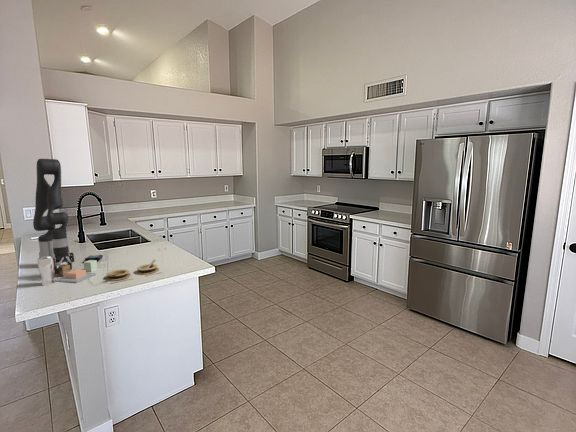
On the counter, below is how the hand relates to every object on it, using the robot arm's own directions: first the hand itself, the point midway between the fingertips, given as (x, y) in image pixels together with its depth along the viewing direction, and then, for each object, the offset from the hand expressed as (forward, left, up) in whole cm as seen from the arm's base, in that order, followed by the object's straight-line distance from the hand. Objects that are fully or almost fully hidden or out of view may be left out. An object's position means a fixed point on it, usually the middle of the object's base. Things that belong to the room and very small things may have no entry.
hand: (63, 271), depth 187 cm
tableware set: (+40, +10, -3) cm, 41 cm away
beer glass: (+4, -14, -2) cm, 14 cm away
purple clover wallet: (-4, +27, -3) cm, 27 cm away
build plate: (+12, -3, -2) cm, 12 cm away
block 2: (+9, +11, -2) cm, 14 cm away
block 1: (0, 0, -2) cm, 2 cm away
